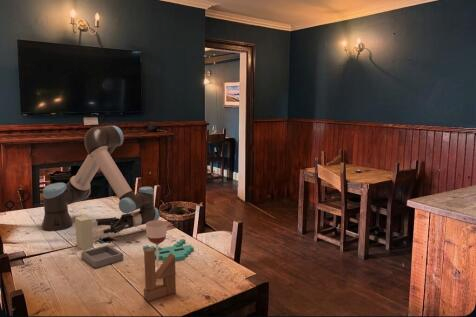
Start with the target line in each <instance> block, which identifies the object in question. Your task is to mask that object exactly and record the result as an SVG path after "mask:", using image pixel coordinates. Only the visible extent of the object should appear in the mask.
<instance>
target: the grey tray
mask: <svg viewBox="0 0 476 317" xmlns="http://www.w3.org/2000/svg"><path fill="white" fill-rule="evenodd" d="M80 254H81V255H80V256H81V259H82V260H83V261H84V262H85V263H87V264H89V266H91V267H93V268H94V269H95V270H96V269H100V268H103V267H106V266H108V265H113V264H115V263H119V262H122V261H124V253H123V252H122V251H120V250H118V249H116V248H115V247H113V246H111V245H109V244H106V245H103V246H98V247H96V248H94V247H93V248H90V249H89V250H88V249H86V250H82V251H81V253H80Z"/></svg>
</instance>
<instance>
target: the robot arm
mask: <svg viewBox="0 0 476 317" xmlns="http://www.w3.org/2000/svg"><path fill="white" fill-rule="evenodd" d="M124 137H125V136H124V132H123V131H122V130H121V128H120V127H119V126H116V125H105V126H103V125H102V126H95V127H91V128H90V129H89V130H87V131H86V132H85V135H84V139H83V141H84V143H83V144H84V147H85V150H86V151H87V156H86V158H85V160H84V161H83V163H82V164H81V166H80V168H79V169H78V171H77V173H76V175H73V176H71V177H70V178H69V181H68V182H67V183H64V182H55V183H50V184H48V185H46V186H45V187H43V190H42V198H43V210H44V212H43V213H44V216H43V220H42V223H41V229H42V231H43V230H44V231H48V232H49V231H50V232H51V231H52V232H53V231H54V232H55V231H61V230H66V229H69V228H70V227H72V226H73V220H72V218H71V214H70V213H69V208H68V207H69V205H72V204H75V203H79V202H82V201H84V200H86V199H87V198H89V196H90V195H91V192H92V191H91V181H93V178H94V177H95V175H96V174H97V172H98V171H99V169H100V171H101V173H102V175H103V176H104V178H105V179H106V180H107V183H109V185H110V186H111V189H112V190H113V191H114V193H115V195H116V196H117V198H118V199H119V202H118V208H119V210H120V212H122V213H123V214H122V215H121V216H120V218H119V217H116V216H114V217H113V216H112V217H106V218H96V219H95V220H94V221H92V229H93V228H95V227H96V228H98V227H99V226H107V227H104V228H99V229H96V230H95V236H96V237H98V236H99V237H101V236H104V235H107V234H114V235H116V234H118V233H119V232H120V233H121V231H124V230H128V229H131V228H138V226H143V225H146V223H147V222H149V221H154V220H160V219H159V218H160V213H159V209H158V208H157V207H155V193H154V192H155V191H154V188H153V187H152V186H142V187H139V189H138V193H134V191H133V189H132V188H131V187H130V185H129V183H128V182H127V180H126V178H125V177H124V176H123V174H122V172H121V170H120V169H119V167H118V166H117V164H116V161H114V159H113V158H112V157H113V156H111V154H113V152H114V151H115V149H116V147H117V148H119V147H120V146H122V145H123V143H124V139H125V138H124ZM109 226H110V227H109Z"/></svg>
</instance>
